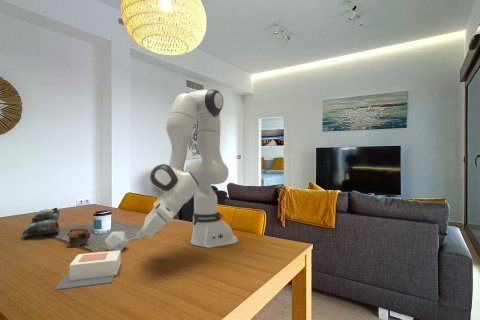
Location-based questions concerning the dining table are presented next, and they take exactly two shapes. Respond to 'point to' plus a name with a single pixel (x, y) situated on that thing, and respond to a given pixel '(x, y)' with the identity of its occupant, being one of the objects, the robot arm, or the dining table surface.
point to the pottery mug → (77, 237)
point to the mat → (82, 282)
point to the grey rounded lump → (43, 223)
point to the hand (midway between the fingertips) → (137, 236)
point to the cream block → (95, 265)
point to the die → (116, 241)
